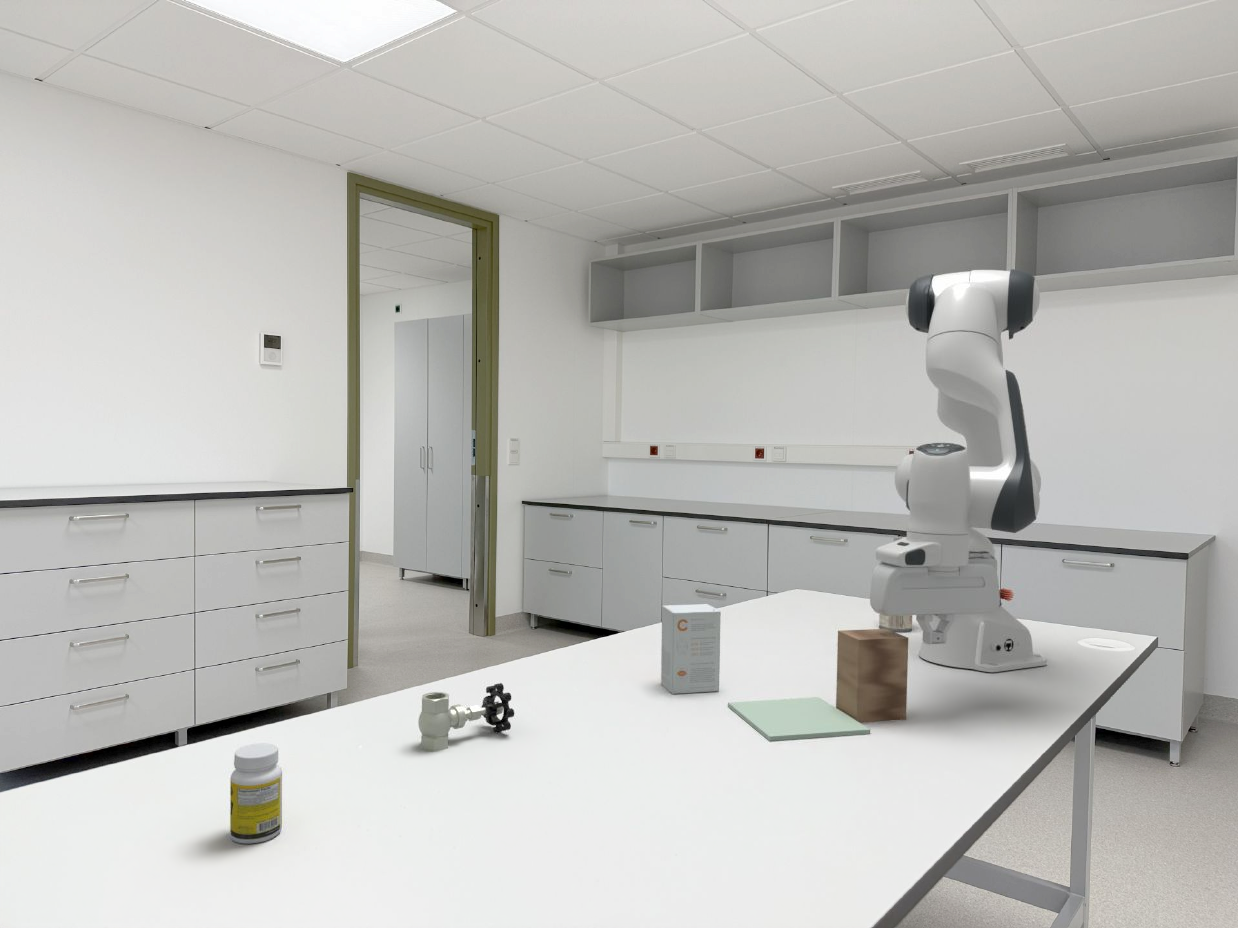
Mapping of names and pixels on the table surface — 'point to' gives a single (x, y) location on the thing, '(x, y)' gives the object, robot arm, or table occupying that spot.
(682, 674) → the small box
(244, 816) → the supplement bottle
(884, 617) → the aerosol can
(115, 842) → the table surface
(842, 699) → the walnut block
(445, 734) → the valve
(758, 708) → the green glass pane
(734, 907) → the table surface
